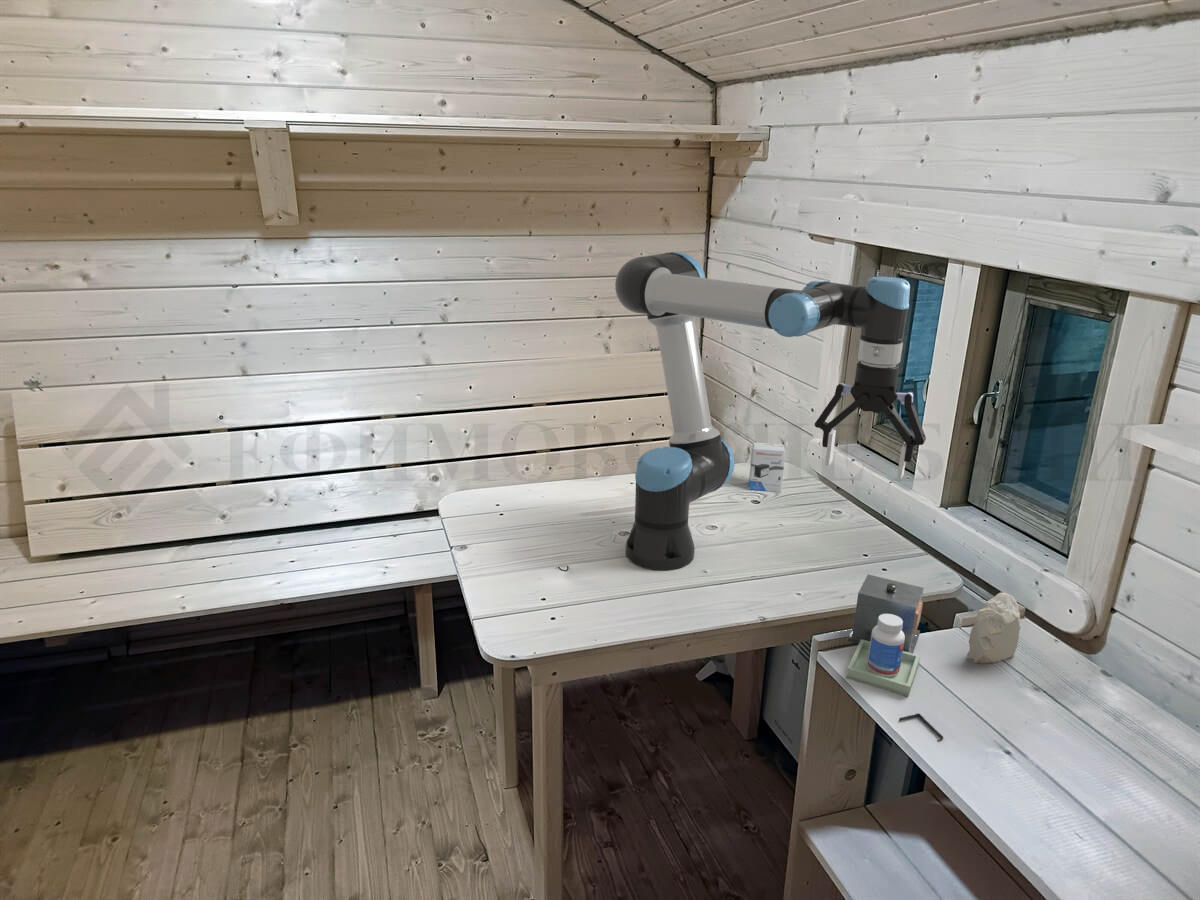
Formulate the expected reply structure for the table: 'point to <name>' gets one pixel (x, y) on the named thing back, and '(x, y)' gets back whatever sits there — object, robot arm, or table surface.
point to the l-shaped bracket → (924, 722)
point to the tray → (894, 684)
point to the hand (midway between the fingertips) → (863, 469)
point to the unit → (887, 608)
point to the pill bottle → (886, 646)
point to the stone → (995, 630)
